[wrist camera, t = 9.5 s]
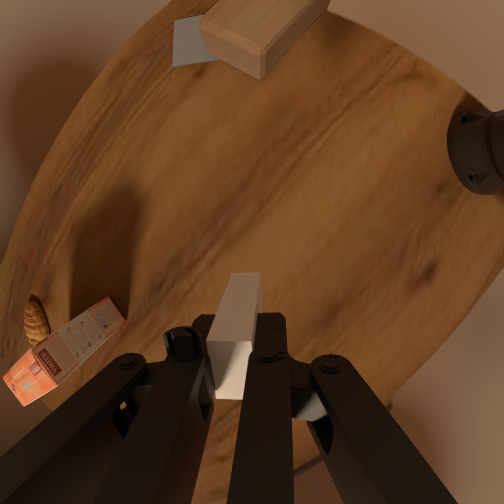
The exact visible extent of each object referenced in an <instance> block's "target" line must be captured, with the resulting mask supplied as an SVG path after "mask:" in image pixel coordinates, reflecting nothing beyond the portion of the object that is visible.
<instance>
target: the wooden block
mask: <svg viewBox="0 0 504 504" xmlns="http://www.w3.org/2000/svg"><path fill="white" fill-rule="evenodd" d="M329 2H330V0H219V1H218V2H217V3H216V4H215V5H214V6H213V7H212V8H211V9H210V10H209V11H208V12H207V13H206V14H205V15H204V16H203V17H202V18H201V19H200V20H199V22H198V27H199V29H200V32H201V35H202V37H203V40H204V42H205V45H206V48H207V50H208V52H209V53H210V55H212V56H214V57H216V58H218V59H220V60H222V61H224V62H226V63H228V64H230V65H232V66H234V67H236V68H237V69H239V70H241V71H243V72H245V73H246V74H248V75H250V76H252V77H254V78H255V79H259V80H260V79H262V78H264V77H265V76H266V75H267V74H268V72H269V71H270V70H271V69H272V68H273V67H274V65H275V64H276V63H277V62H278V61H279V60H280V58H281V57H282V56H283V55H284V54H285V53H286V52H287V51H288V49H289V48H290V47H291V46H292V45H293V44H294V43H295V42H296V41H297V40H298V38H299V37H300V36H301V35H302V34H303V33H304V32H305V31H306V30H307V29H308V28H309V27H310V26H311V25H312V24H313V23H314V22H315V21H316V19H317V18H318V17H319V16H320V15H321V14H322V13H323V12H324V11H325V10H326V9H327V7H328V5H329Z"/></svg>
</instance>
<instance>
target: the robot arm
mask: <svg viewBox="0 0 504 504" xmlns="http://www.w3.org/2000/svg"><path fill="white" fill-rule="evenodd" d="M447 145H448V153H449V157H450V161H451V164H452V167H453V169H454V171H455V173H456V175H457V177H458V178H459V180H460V181H461V182H462V184H463V185H464V186H465V187H466V188H467V189H469V190H470V191H472V192H473V193H476V194H480V195H492V194H495V193H497V192H499V191H501V190H503V189H504V110H501V111H498V112H491V111H485V110H479V109H468V110H466V111H463V112H460V113H458V114H457V115H456V116H455V117H454V118H453V120H452V121H451V123H450V126H449V130H448V136H447ZM163 338H164V342H165V346H166V350H167V354H168V355H167V357H166V359H165V361H160V362H153V363H146V360H145V358H144V357H143V356H142V355H140V354H137V353H127V354H124V355H121V356H119V357H117V358H115V359H114V360H113V361H112V362H111V363H109V364H108V365H107V366H106V367H105V368H104V369H102V370H101V371H100V372H99V373H98V374H96V375H95V376H94V377H93V378H92V379H91V380H89V381H88V382H87V383H86V384H85V385H84V386H82V387H81V388H80V389H79V390H78V391H77V392H75V393H74V394H73V395H72V396H71V397H70V398H68V399H67V400H66V401H65V402H64V403H63V404H61V405H60V406H59V407H58V408H57V409H56V410H54V411H53V412H52V413H51V414H50V415H49V416H47V417H46V418H45V419H44V420H43V421H42V422H40V423H39V424H38V425H37V426H36V427H35V428H34V429H32V430H31V431H30V432H29V433H28V434H27V435H25V436H24V437H23V438H22V439H21V440H20V441H19V442H17V443H16V444H15V445H14V446H13V447H12V448H10V449H9V450H8V451H7V452H6V453H5V454H4V455H3V456H1V457H0V504H91V503H92V502H93V503H92V504H191V501H192V497H193V493H194V489H195V485H196V480H197V476H198V472H199V468H200V464H201V460H202V456H203V451H204V447H205V443H206V439H207V435H208V431H209V427H210V423H211V418H212V414H213V410H214V403H213V398H212V397H213V394H214V390H215V394H216V399H242V406H241V413H240V420H239V426H238V433H237V440H236V446H235V453H234V459H233V466H232V472H231V479H230V485H229V492H228V498H227V504H294V477H293V441H292V418H297V419H302V420H306V421H307V425H308V427H309V430H310V432H311V434H312V436H313V438H314V441H315V443H316V445H317V447H318V449H319V452H320V454H321V456H322V458H323V460H324V463H325V465H326V467H327V469H328V471H329V473H330V476H331V478H332V479H333V482H334V484H335V486H336V489H337V491H338V492H339V495H340V497H341V499H342V501H343V503H344V504H458V503H457V502H456V500H455V499H454V498H453V497H452V495H451V494H450V492H449V491H448V490H447V488H446V487H445V486H444V484H443V483H442V482H441V480H440V479H439V478H438V476H437V475H436V474H435V472H434V471H433V470H432V468H431V467H430V466H429V464H428V463H427V462H426V460H425V459H424V458H423V457H422V455H421V454H420V452H419V451H418V450H417V448H416V447H415V446H414V445H413V443H412V442H411V441H410V439H409V438H408V437H407V435H406V434H405V433H404V431H403V430H402V429H401V427H400V426H399V425H398V423H397V422H396V421H395V420H394V418H393V417H392V416H391V414H390V413H389V412H388V410H387V409H386V408H385V407H384V405H383V404H382V403H381V401H380V400H379V399H378V397H377V396H376V395H375V394H374V392H373V391H372V390H371V388H370V387H369V386H368V384H367V383H366V382H365V381H364V379H363V378H362V377H361V375H360V374H359V373H358V372H357V370H356V369H355V368H354V366H353V365H352V364H351V363H350V361H349V360H347V359H346V358H345V357H342V356H340V355H334V354H328V355H322V356H319V357H317V358H315V359H314V360H313V361H312V363H311V364H308V363H303V362H299V361H297V360H294V359H293V358H292V357H290V355H289V354H288V351H287V336H286V321H285V317H284V316H283V315H282V314H281V313H280V312H278V313H262V297H261V279H260V272H250V273H232V274H231V277H230V280H229V282H228V285H227V287H226V290H225V292H224V295H223V298H222V300H221V303H220V305H219V308H218V311H217V313H216V315H207V314H201V315H200V316H199V317H198V318H196V319H195V320H194V322H193V324H192V326H191V327H189V326H181V327H176V328H172V329H170V330H168V331H167V332H166V333H165V334H164V335H163ZM124 401H125V404H126V407H125V408H123V409H121V408H120V405H121V404H122V403H123V402H124ZM93 500H94V501H93Z"/></svg>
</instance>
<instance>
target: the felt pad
mask: <svg viewBox="0 0 504 504" xmlns="http://www.w3.org/2000/svg"><path fill="white" fill-rule="evenodd" d="M203 16H204V15H199V16H193V17H188V18H183V19H178V20H175V21H174V40H173V67H177V66H183V65H188V64H194V63H201V62H207V61H215V60H220V59H218V58H216V57H214V56H212V55H210V53H209V52H208V50H207V48H206V45H205V42H204V40H203V37H202V35H201V32H200V29H199V27H198V22H199V20H200V19H201V18H202V17H203Z"/></svg>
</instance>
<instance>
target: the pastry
mask: <svg viewBox="0 0 504 504" xmlns="http://www.w3.org/2000/svg"><path fill="white" fill-rule="evenodd" d="M24 314H25V316H24V321H25V322H24V327H25V328H26V335H27V336H29V341H30V343H31V344H33V345H36V344H37V343H39V342H40V341H42V340H43V339H45V338H46V337H48V336H49V335H50V333H49V327H48V324H47V321H46V318H45V316H44V313H43V311H42V309H41V308H40V306H39V304H38V303H36V302H34V301H32V302H28V303H27V304H26V307H25V311H24Z"/></svg>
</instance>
